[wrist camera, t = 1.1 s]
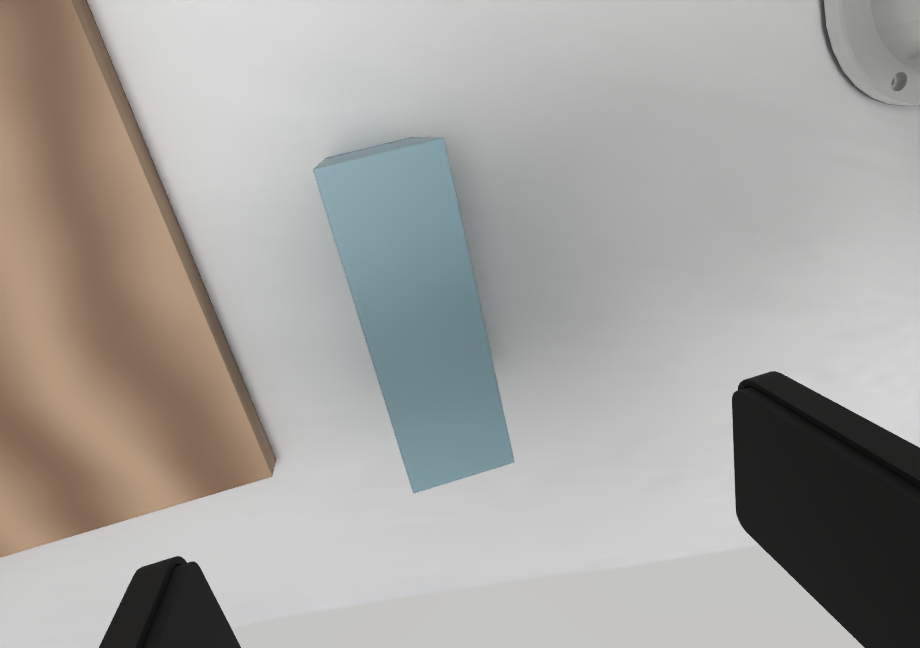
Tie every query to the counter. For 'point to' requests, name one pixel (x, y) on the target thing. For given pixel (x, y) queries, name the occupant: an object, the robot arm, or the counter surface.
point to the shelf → (99, 305)
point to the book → (418, 305)
